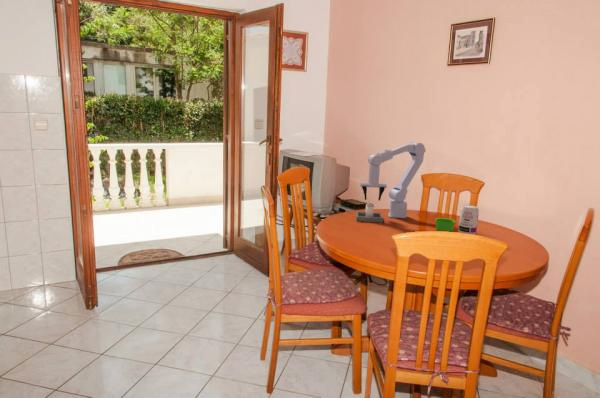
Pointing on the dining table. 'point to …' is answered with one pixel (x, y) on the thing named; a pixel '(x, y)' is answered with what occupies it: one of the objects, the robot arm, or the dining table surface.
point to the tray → (376, 217)
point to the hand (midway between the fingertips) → (372, 199)
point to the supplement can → (468, 219)
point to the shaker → (369, 210)
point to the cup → (444, 224)
